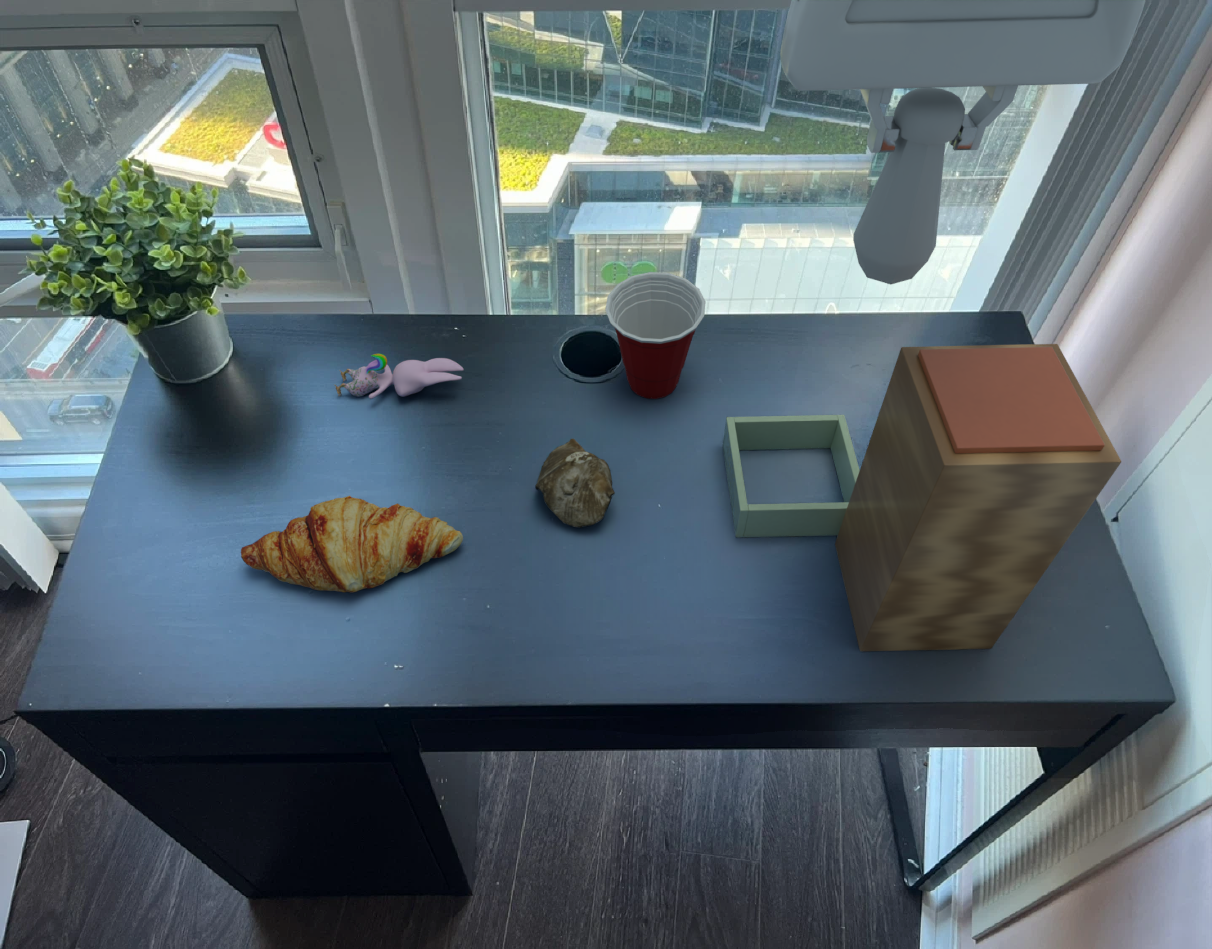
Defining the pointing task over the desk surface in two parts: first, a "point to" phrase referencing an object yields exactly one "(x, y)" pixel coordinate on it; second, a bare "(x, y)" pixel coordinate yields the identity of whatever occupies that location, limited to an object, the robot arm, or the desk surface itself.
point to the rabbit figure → (399, 376)
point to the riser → (954, 522)
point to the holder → (788, 436)
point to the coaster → (1008, 400)
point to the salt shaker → (909, 188)
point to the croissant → (351, 545)
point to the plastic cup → (654, 328)
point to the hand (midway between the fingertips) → (921, 147)
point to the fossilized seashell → (576, 485)
